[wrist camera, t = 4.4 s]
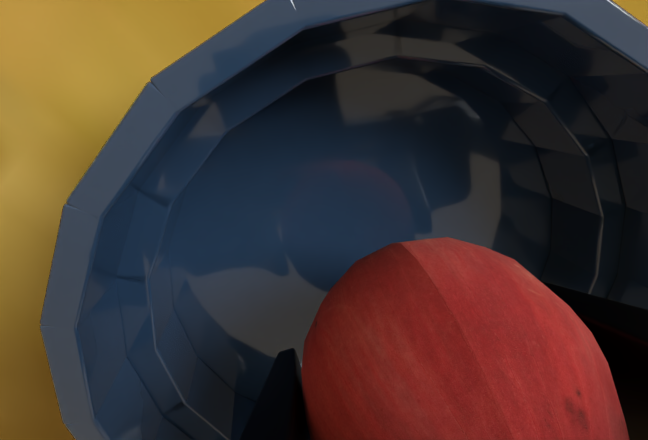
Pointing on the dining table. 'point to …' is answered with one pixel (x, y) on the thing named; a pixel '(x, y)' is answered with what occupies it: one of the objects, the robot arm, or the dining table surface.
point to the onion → (453, 353)
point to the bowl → (336, 189)
